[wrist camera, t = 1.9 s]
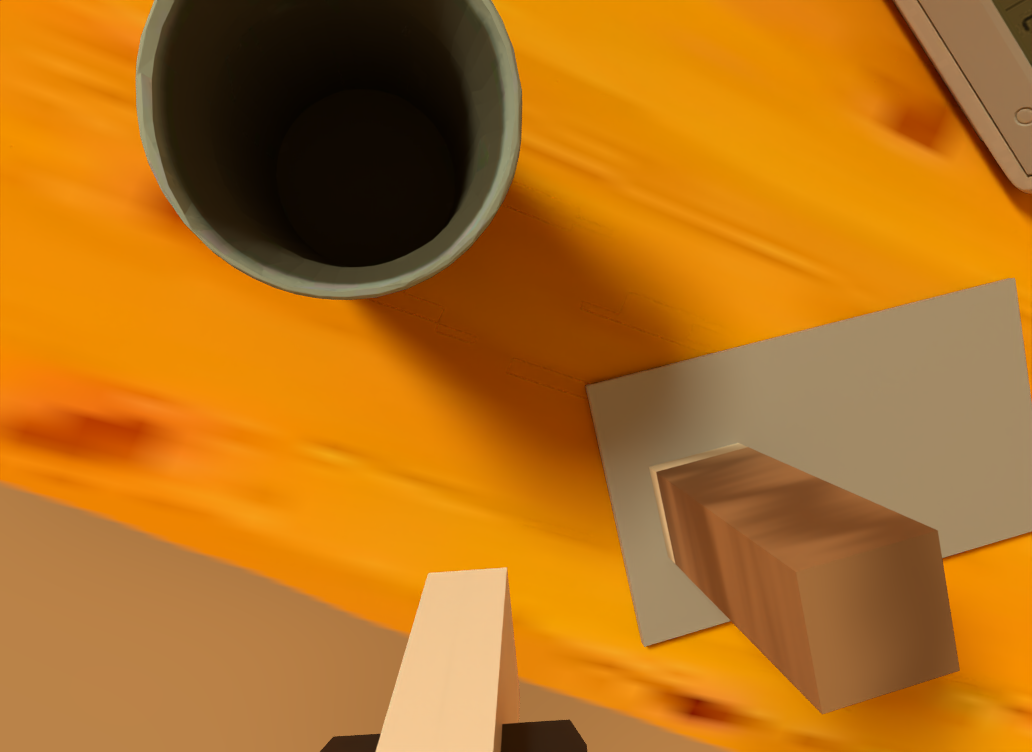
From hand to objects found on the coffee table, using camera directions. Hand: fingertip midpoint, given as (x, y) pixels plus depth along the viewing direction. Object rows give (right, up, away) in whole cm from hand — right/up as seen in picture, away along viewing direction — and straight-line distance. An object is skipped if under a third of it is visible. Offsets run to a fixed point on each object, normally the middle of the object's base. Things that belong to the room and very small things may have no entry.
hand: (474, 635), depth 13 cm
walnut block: (+10, -1, +20) cm, 22 cm away
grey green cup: (-6, +13, +17) cm, 22 cm away
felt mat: (+16, +1, +21) cm, 27 cm away
